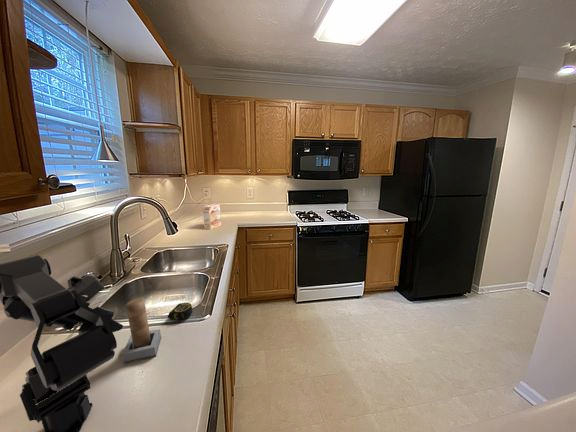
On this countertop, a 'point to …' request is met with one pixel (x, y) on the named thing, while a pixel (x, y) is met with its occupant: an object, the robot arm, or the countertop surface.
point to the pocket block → (142, 348)
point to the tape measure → (181, 311)
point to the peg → (138, 323)
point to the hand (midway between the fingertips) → (111, 322)
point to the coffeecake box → (212, 216)
